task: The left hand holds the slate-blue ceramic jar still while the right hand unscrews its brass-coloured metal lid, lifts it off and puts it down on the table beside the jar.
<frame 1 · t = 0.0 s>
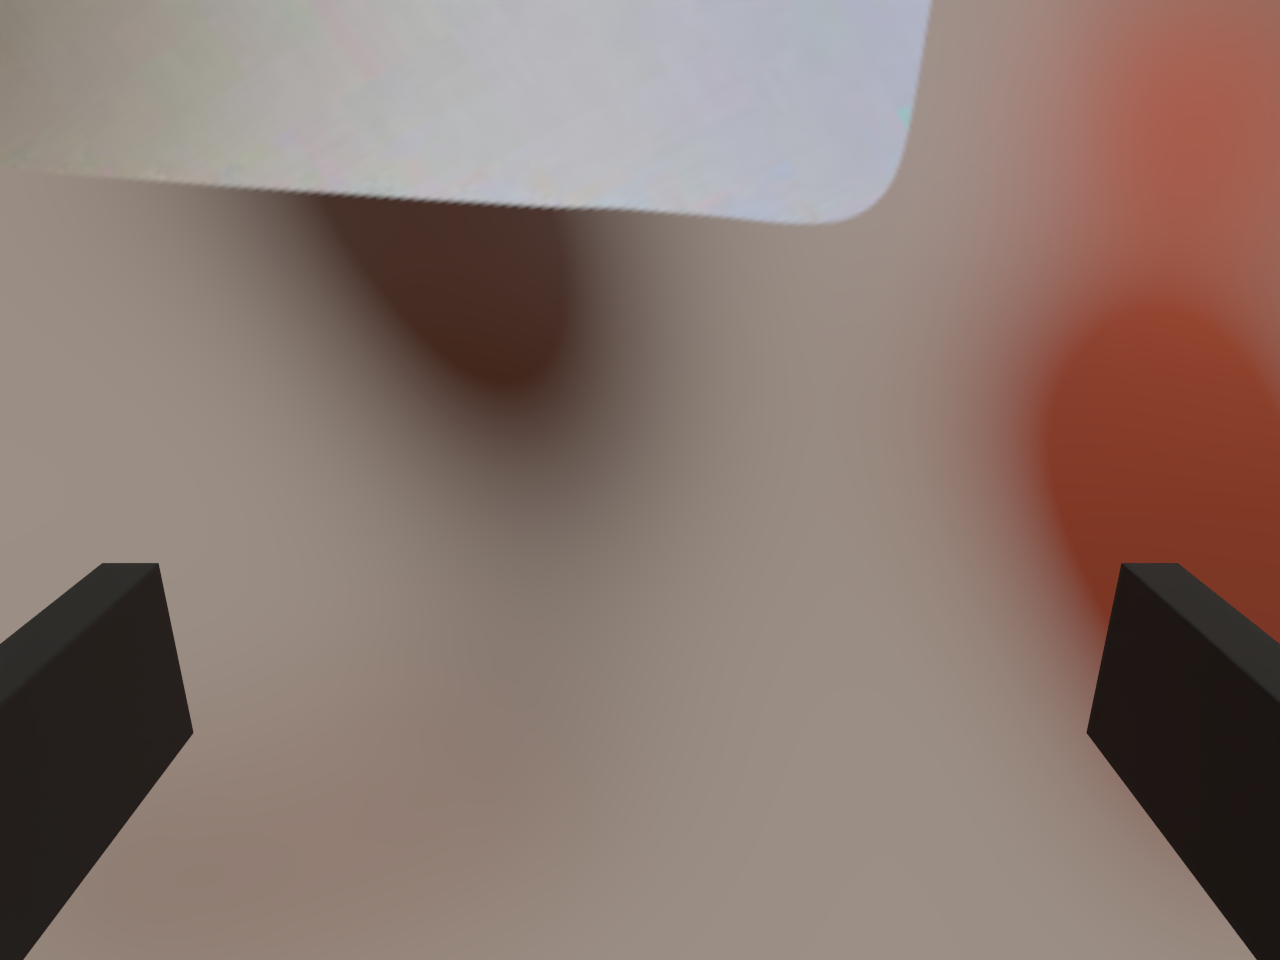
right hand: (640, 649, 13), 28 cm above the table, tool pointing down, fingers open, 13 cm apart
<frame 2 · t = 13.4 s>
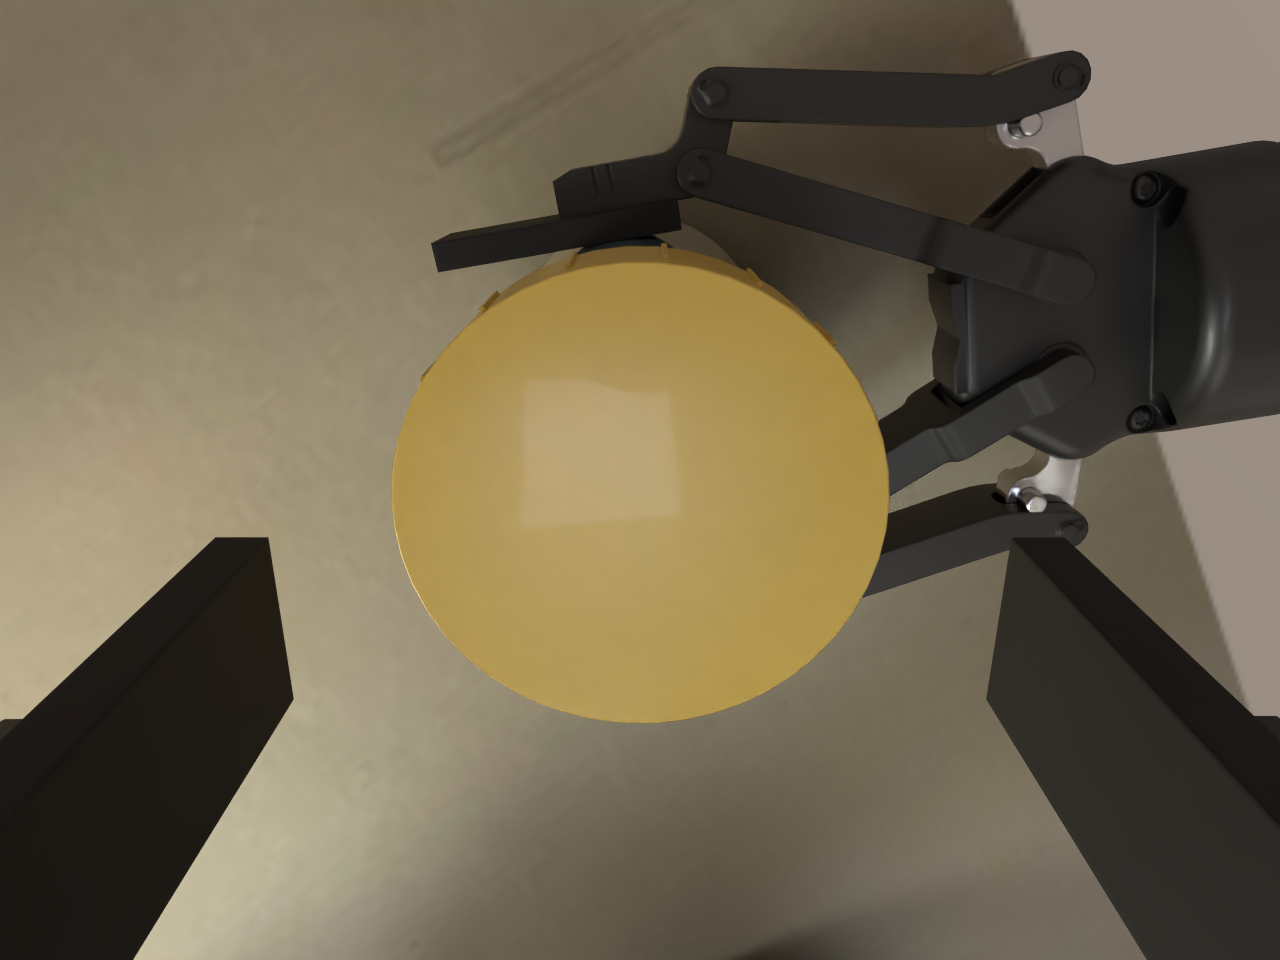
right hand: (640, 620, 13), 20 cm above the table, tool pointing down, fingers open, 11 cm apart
left hand: (483, 408, 27), fingers closed on jar, 8 cm apart
jar: (640, 336, 33), on the table, touching left hand
lid: (640, 507, 18), point 16 cm above the table, screwed on, not yet turned
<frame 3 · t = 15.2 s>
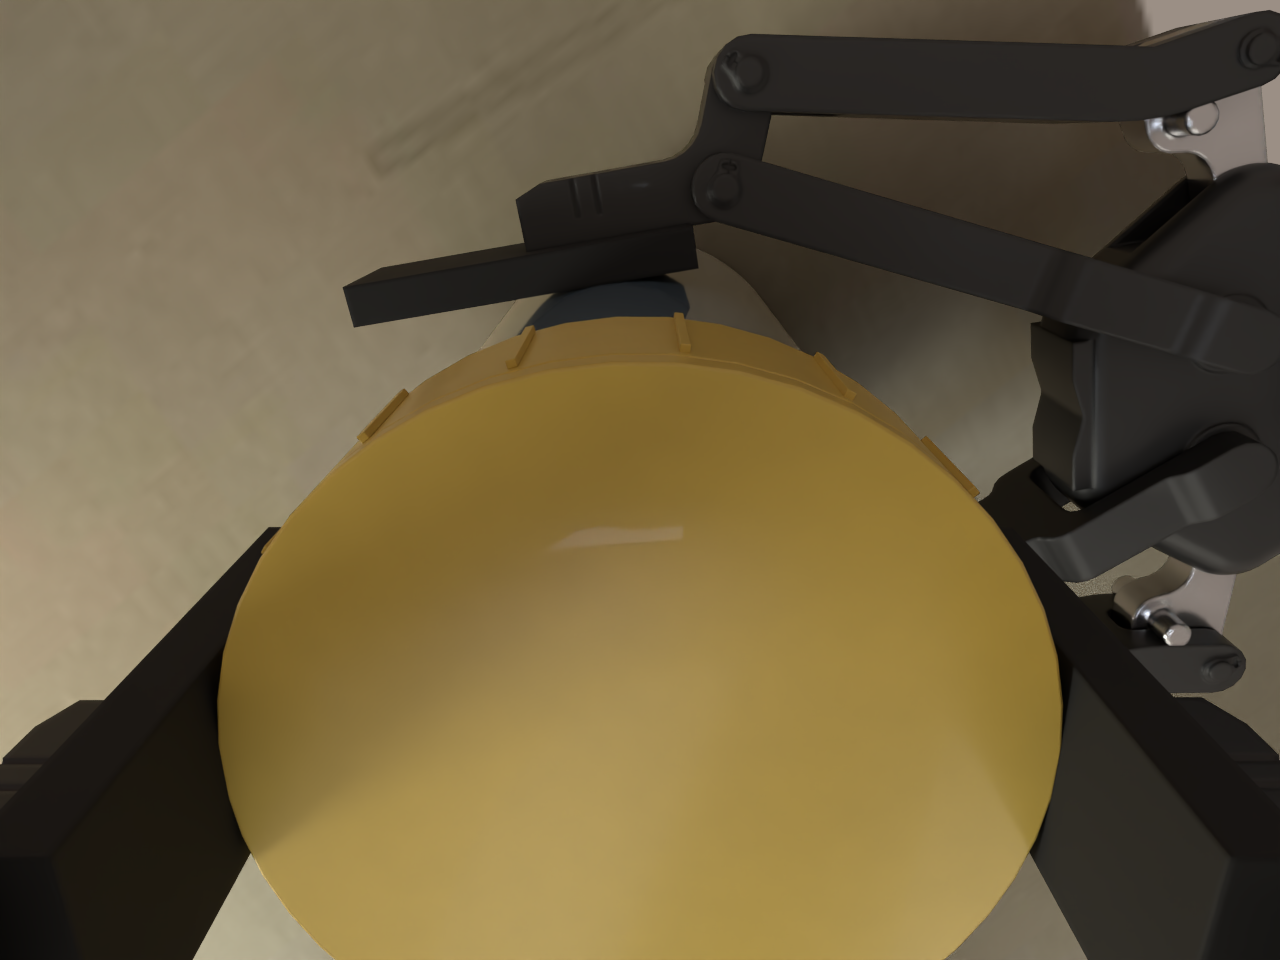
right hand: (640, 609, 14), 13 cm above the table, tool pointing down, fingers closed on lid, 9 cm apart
left hand: (426, 505, 20), fingers closed on jar, 8 cm apart
jar: (639, 390, 26), on the table, touching left hand
lid: (640, 753, 11), point 16 cm above the table, screwed on, not yet turned, touching right hand
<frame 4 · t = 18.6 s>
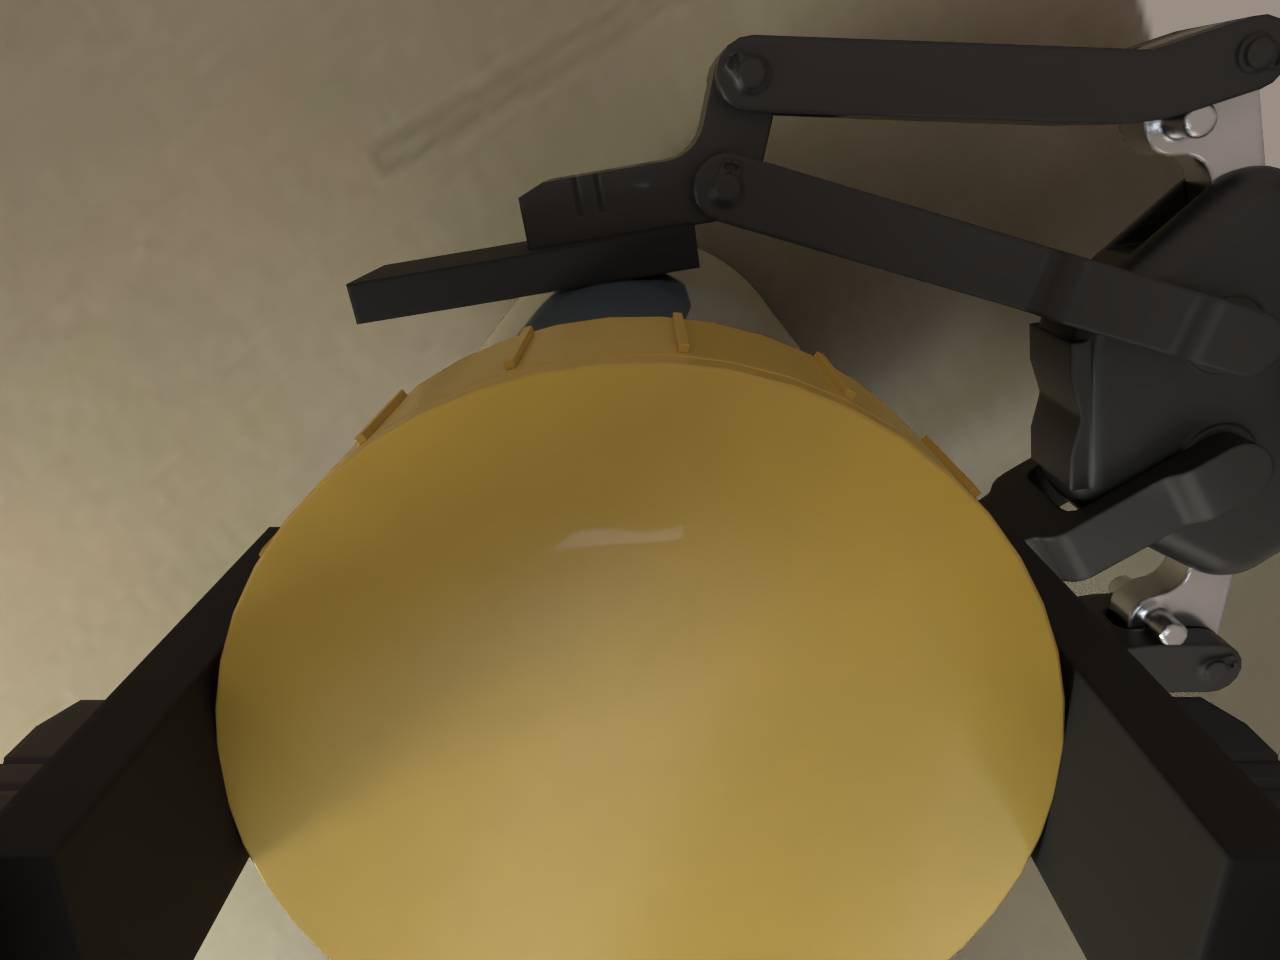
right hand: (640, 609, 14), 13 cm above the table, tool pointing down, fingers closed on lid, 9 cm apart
left hand: (427, 501, 20), fingers closed on jar, 8 cm apart
jar: (639, 389, 26), on the table, touching left hand
lid: (640, 755, 10), point 16 cm above the table, turned 106° so far, risen 0.2 cm, still on its thread, touching right hand
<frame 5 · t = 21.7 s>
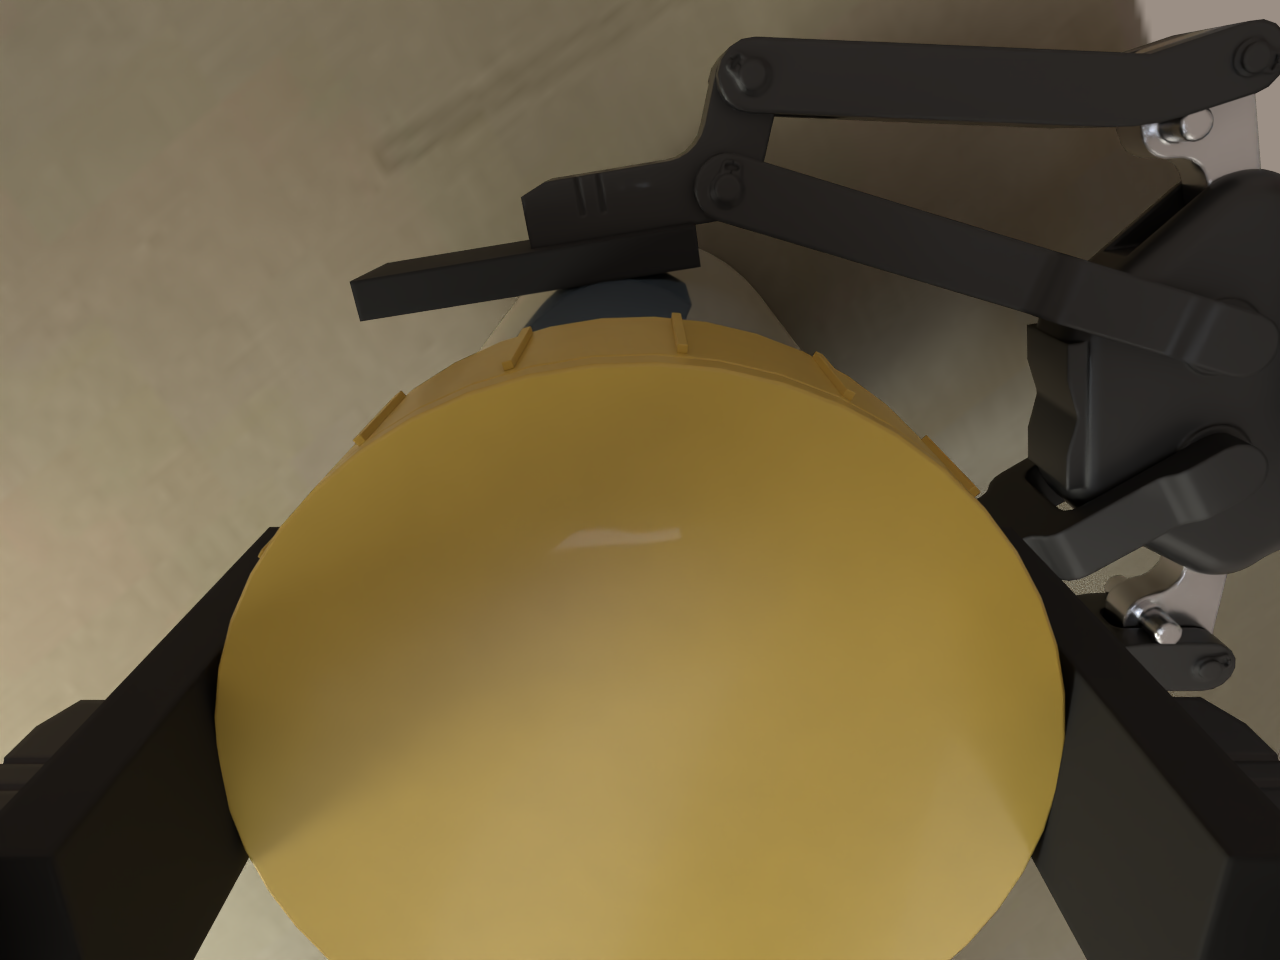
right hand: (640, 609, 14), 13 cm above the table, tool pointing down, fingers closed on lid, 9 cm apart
left hand: (429, 498, 20), fingers closed on jar, 8 cm apart
jar: (639, 387, 26), on the table, touching left hand
lid: (640, 756, 10), point 16 cm above the table, turned 213° so far, risen 0.3 cm, still on its thread, touching right hand
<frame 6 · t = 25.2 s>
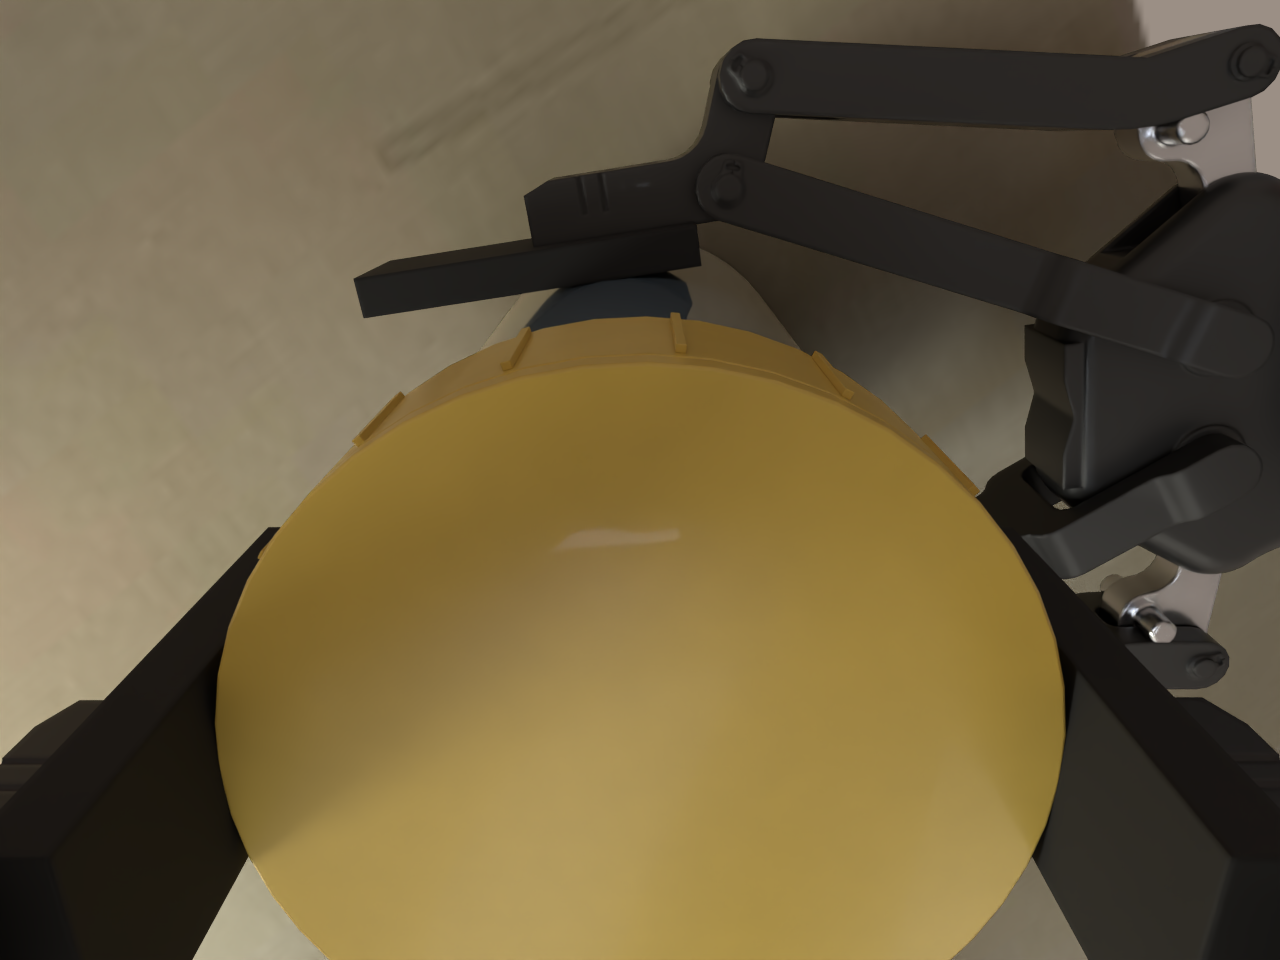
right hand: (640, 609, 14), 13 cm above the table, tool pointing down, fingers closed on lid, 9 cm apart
left hand: (430, 494, 20), fingers closed on jar, 8 cm apart
jar: (640, 386, 26), on the table, touching left hand
lid: (640, 756, 10), point 17 cm above the table, turned 319° so far, risen 0.5 cm, still on its thread, touching right hand
when the right hand's fingers open (0 cm above the table, at t = 35.7 s): lid drops 2 cm, point 2 cm above the table.
when the left hand's fingers open (7 cm above the table, at t = 36.7 s): jar stays where it is, on the table.
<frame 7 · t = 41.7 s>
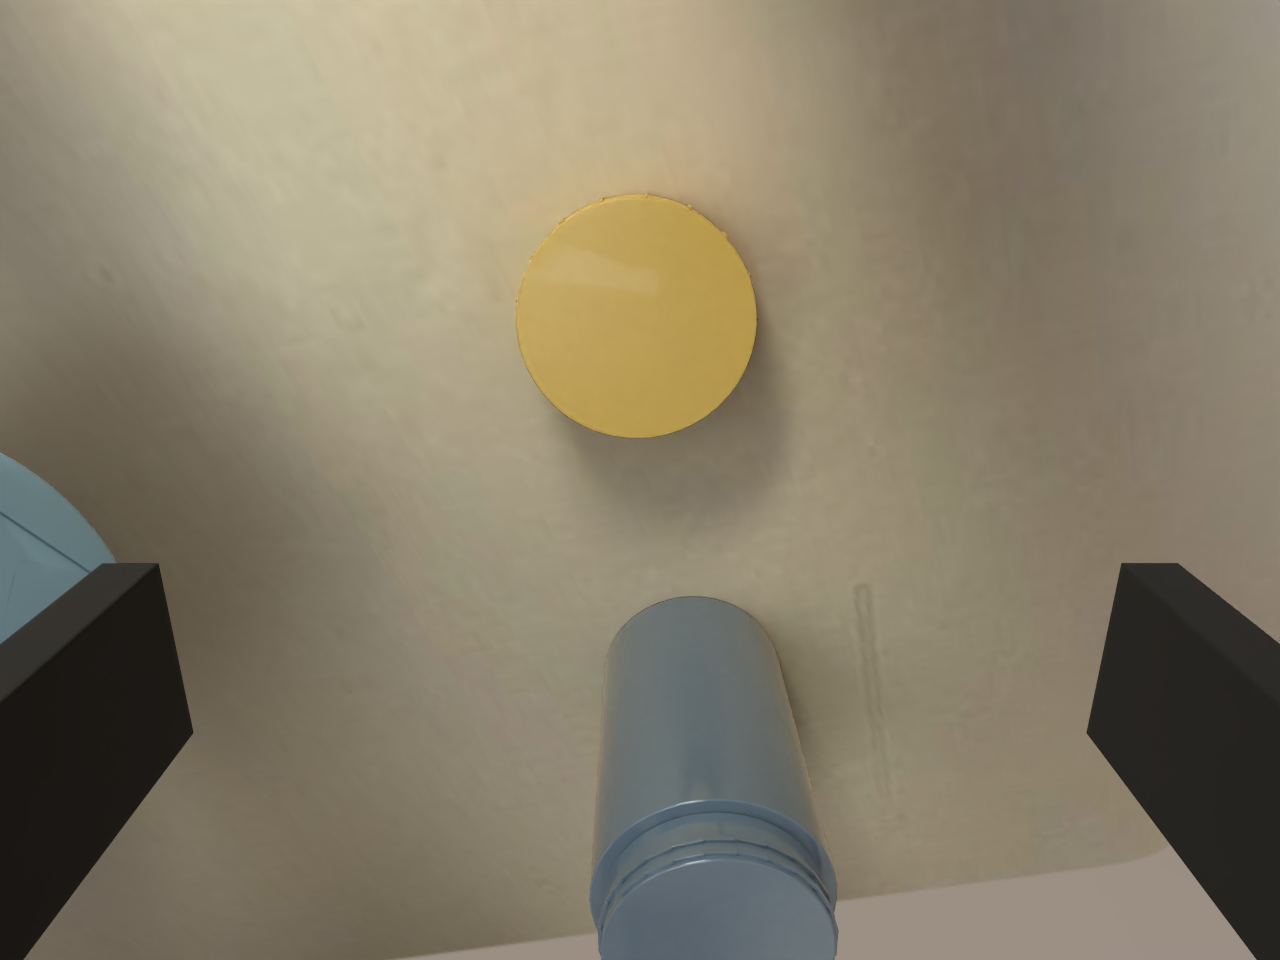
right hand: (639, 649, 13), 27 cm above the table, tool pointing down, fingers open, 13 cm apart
jar: (691, 673, 44), on the table
lid: (636, 322, 36), point 2 cm above the table, off its thread
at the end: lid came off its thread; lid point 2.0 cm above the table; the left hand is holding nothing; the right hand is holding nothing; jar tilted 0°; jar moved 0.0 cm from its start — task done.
